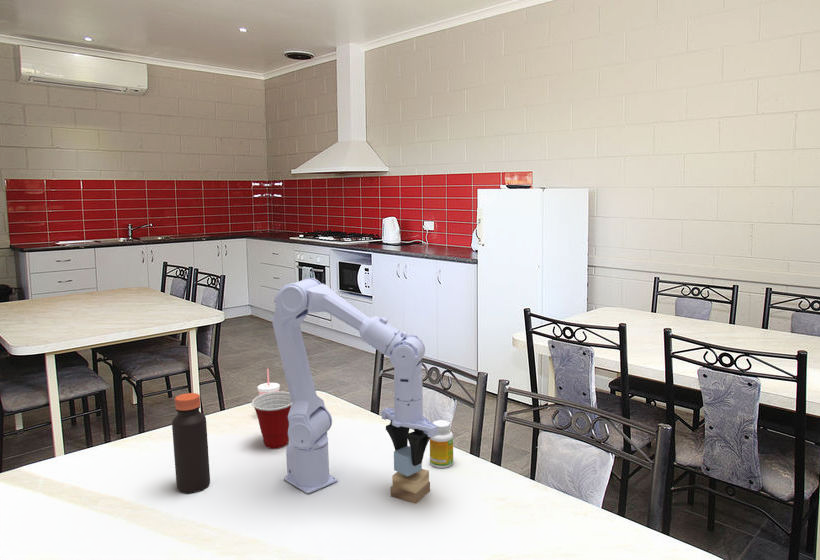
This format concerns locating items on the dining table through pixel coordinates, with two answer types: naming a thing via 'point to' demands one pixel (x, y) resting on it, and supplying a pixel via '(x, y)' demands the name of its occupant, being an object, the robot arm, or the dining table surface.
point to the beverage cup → (268, 386)
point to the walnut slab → (409, 494)
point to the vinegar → (190, 445)
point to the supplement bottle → (442, 446)
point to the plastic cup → (273, 417)
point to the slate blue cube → (405, 462)
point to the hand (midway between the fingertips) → (409, 460)
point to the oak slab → (411, 481)
